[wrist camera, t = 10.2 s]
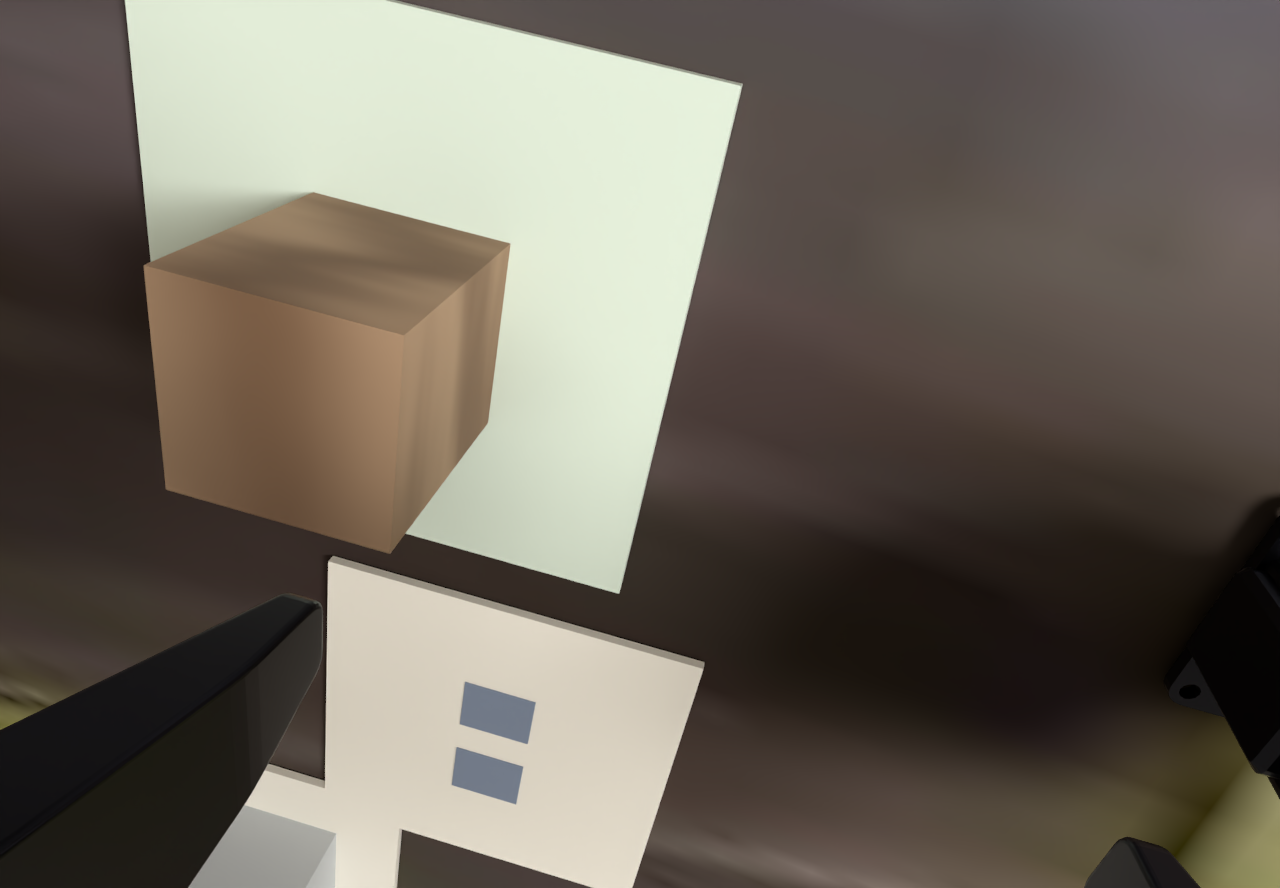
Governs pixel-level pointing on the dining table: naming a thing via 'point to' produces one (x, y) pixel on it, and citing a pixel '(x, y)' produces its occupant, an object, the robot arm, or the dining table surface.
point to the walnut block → (325, 364)
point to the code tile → (500, 724)
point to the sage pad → (468, 220)
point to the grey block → (270, 855)
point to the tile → (337, 825)
